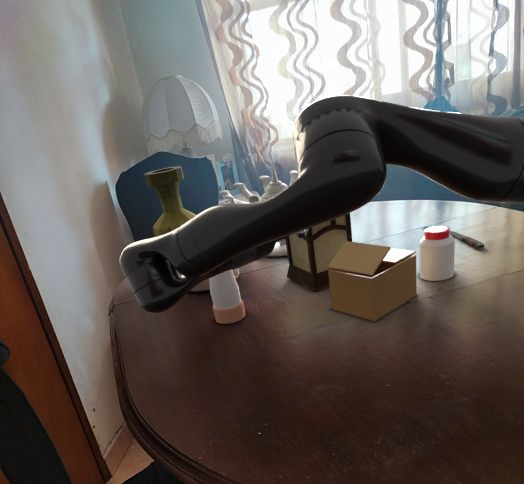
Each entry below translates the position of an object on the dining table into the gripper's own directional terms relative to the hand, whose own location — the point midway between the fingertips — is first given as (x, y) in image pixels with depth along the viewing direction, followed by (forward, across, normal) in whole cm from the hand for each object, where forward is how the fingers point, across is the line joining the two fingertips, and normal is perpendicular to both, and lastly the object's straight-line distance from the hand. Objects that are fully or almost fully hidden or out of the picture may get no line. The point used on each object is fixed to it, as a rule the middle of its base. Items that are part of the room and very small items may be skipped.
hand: (313, 213), depth 84 cm
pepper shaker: (-7, +25, +24) cm, 35 cm away
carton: (+15, 0, +24) cm, 29 cm away
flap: (+11, 0, +12) cm, 17 cm away
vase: (+10, +72, +24) cm, 77 cm away
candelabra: (+35, +51, +24) cm, 67 cm away
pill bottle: (+35, -3, +24) cm, 43 cm away
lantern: (+25, +21, +24) cm, 40 cm away
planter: (+4, +50, +24) cm, 56 cm away
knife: (+61, +8, +24) cm, 66 cm away
